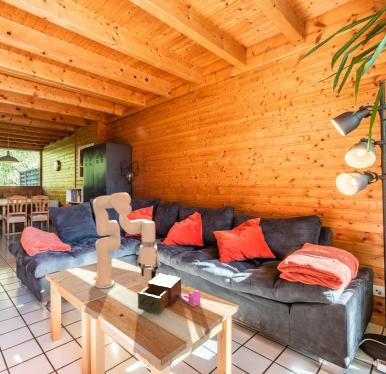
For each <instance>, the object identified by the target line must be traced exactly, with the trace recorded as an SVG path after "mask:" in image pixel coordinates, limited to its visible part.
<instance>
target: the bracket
mask: <svg viewBox="0 0 386 374" xmlns="http://www.w3.org/2000/svg"><path fill="white" fill-rule="evenodd" d="M179 299H180V300H181V301H182V302H184V303H186V304H187V305H190V306H191V307H196V306H199V305H201V292H200V291H199V290H195V291H194V292H189V293H188V294H187V293H181V295H180V297H179Z"/></svg>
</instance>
